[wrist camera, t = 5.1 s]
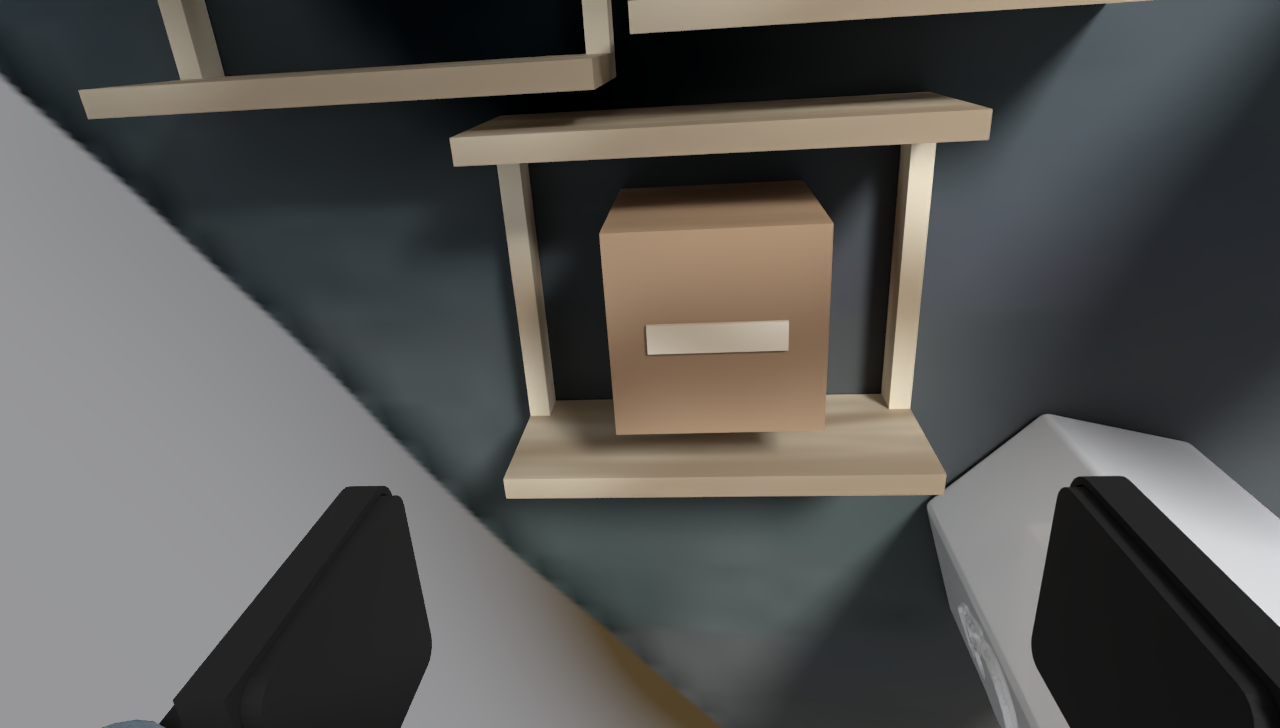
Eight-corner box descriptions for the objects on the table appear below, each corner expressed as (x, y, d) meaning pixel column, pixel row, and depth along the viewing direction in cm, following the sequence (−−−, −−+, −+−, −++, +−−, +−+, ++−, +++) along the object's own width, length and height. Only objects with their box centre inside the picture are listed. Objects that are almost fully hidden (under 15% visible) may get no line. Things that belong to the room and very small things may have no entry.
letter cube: (616, 188, 21) (593, 235, 16) (802, 179, 20) (834, 224, 16) (629, 353, 23) (611, 437, 18) (798, 348, 22) (825, 432, 18)
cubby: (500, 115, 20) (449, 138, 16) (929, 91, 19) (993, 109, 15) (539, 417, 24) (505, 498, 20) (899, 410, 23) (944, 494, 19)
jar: (903, 444, 23) (1085, 812, 12) (1187, 374, 22) (1684, 725, 11) (953, 653, 27) (1131, 1090, 16) (1203, 605, 25) (1596, 1055, 14)
